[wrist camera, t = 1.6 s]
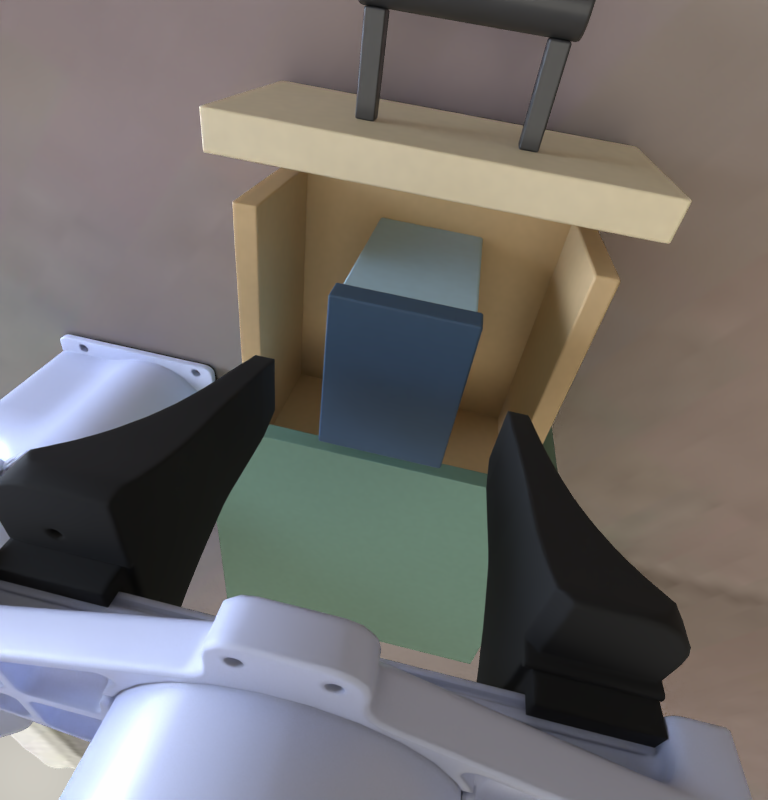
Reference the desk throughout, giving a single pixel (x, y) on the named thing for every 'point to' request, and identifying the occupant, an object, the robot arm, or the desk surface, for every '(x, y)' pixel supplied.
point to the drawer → (436, 218)
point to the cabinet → (362, 540)
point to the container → (401, 342)
